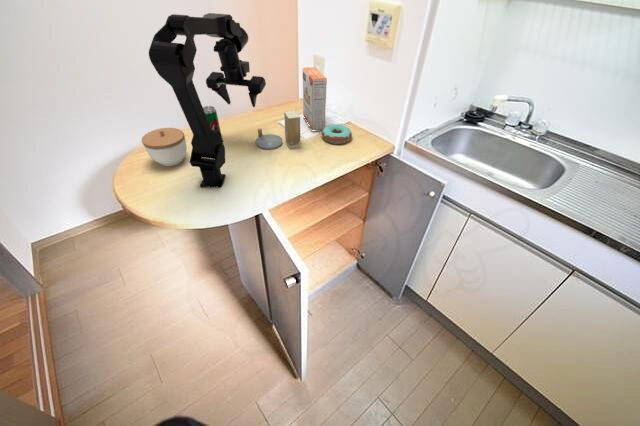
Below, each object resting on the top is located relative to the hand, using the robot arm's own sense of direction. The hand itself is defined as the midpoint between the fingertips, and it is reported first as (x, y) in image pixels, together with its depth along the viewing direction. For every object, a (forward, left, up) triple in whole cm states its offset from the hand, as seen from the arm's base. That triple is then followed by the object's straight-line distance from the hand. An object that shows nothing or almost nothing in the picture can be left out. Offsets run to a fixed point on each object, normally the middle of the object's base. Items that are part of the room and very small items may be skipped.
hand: (241, 105), depth 102 cm
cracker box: (+15, -26, -14) cm, 33 cm away
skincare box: (-3, -18, -14) cm, 23 cm away
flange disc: (-2, -9, -14) cm, 16 cm away
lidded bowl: (-15, +23, -14) cm, 31 cm away
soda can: (+1, +12, -14) cm, 19 cm away
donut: (+3, -35, -14) cm, 38 cm away
